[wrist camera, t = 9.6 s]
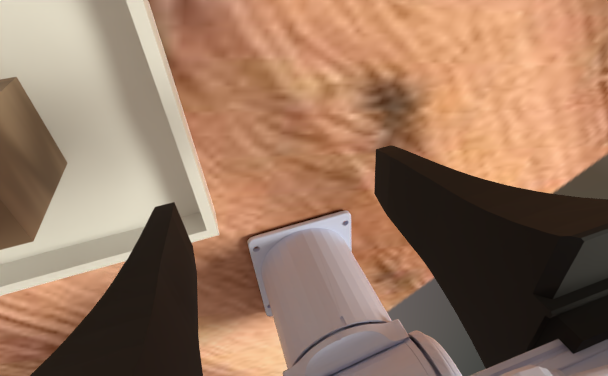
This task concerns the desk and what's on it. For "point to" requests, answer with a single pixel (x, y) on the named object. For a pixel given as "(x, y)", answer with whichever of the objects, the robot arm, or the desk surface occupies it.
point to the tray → (100, 133)
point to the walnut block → (24, 166)
